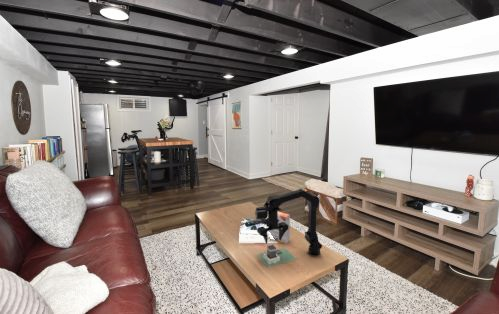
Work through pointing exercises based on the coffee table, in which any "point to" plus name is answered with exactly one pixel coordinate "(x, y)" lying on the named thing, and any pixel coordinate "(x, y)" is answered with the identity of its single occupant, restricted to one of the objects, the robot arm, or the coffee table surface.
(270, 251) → the black plug
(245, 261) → the coffee table surface
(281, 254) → the circuit board
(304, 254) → the coffee table surface
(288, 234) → the cracker box
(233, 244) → the coffee table surface
